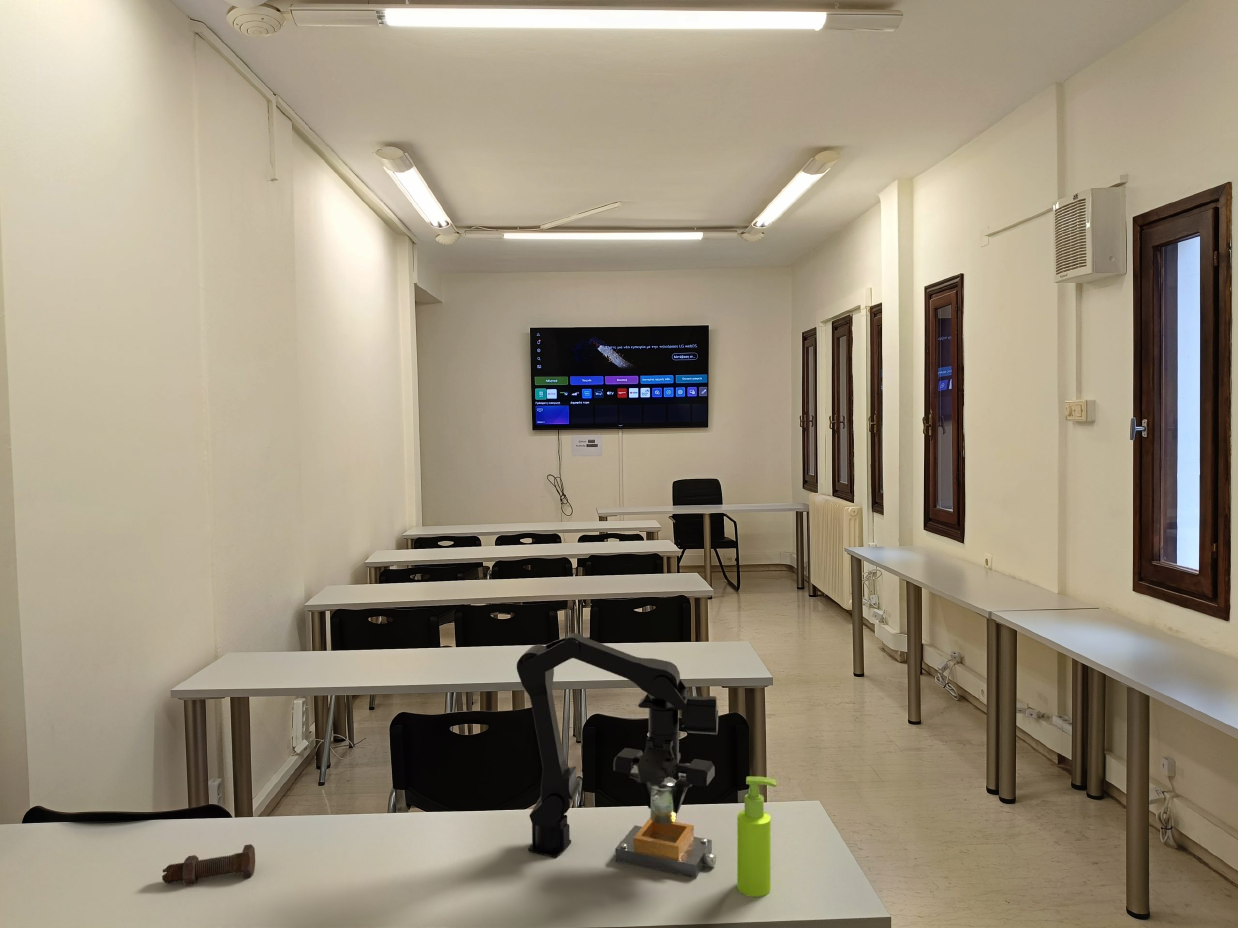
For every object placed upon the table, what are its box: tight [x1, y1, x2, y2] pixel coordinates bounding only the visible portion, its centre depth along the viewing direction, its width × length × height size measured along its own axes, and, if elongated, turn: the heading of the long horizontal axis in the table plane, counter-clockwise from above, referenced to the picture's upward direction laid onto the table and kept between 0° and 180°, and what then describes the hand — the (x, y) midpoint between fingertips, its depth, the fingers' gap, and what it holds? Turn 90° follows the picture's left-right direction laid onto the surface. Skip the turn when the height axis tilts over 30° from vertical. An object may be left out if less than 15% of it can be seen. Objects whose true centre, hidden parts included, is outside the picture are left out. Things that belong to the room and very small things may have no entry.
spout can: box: [649, 777, 678, 824], centre depth 161 cm, size 5×8×7 cm, turn 158°
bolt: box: [161, 843, 256, 886], centre depth 156 cm, size 6×5×15 cm
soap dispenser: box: [736, 776, 778, 898], centre depth 151 cm, size 6×7×20 cm
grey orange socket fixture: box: [614, 817, 717, 879], centre depth 162 cm, size 18×10×5 cm, turn 67°
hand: (663, 810), depth 162 cm, fingers closed on spout can, 5 cm apart
